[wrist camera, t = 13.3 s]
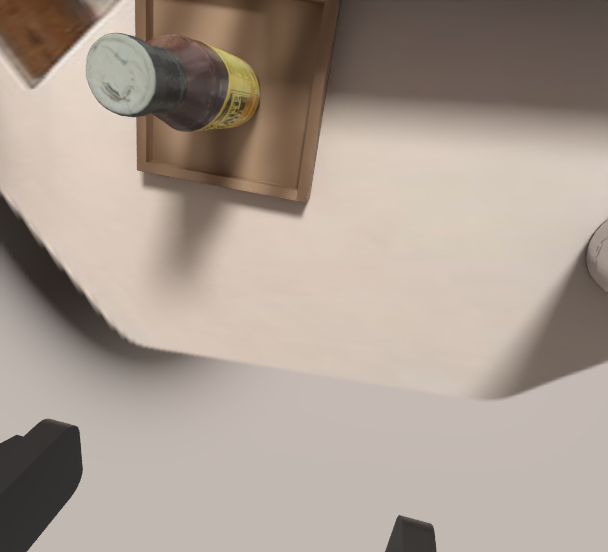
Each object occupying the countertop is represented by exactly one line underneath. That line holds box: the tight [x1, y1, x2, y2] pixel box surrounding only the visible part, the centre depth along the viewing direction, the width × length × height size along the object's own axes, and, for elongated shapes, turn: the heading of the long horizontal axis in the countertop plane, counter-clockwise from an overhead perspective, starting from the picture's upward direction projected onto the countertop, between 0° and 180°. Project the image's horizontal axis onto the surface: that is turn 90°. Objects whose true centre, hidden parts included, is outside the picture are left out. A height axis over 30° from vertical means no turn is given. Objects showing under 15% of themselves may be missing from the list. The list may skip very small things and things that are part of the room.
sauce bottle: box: [86, 33, 261, 132], centre depth 31 cm, size 6×6×20 cm
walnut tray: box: [135, 0, 340, 203], centre depth 40 cm, size 18×18×2 cm
